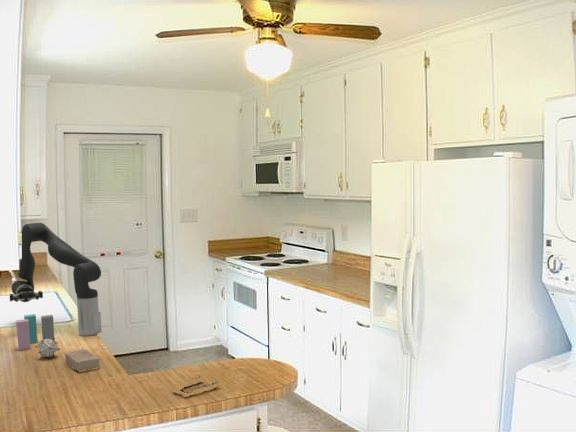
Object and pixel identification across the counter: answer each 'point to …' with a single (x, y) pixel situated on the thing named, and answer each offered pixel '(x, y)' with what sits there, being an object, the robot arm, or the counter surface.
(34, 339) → the teal block
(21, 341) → the plum block
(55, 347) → the game die
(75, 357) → the brick
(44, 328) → the charcoal block
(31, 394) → the counter surface
